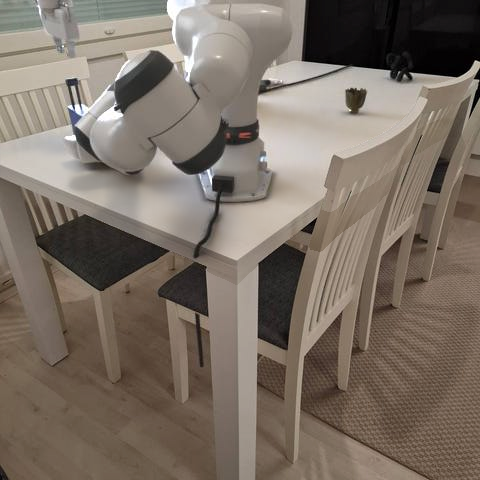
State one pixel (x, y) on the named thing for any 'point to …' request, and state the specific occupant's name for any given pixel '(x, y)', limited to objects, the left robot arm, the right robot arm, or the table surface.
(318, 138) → the table surface
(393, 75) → the squiggle
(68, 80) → the lid
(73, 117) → the chest
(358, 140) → the table surface
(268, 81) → the spray bottle
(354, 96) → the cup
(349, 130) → the table surface
